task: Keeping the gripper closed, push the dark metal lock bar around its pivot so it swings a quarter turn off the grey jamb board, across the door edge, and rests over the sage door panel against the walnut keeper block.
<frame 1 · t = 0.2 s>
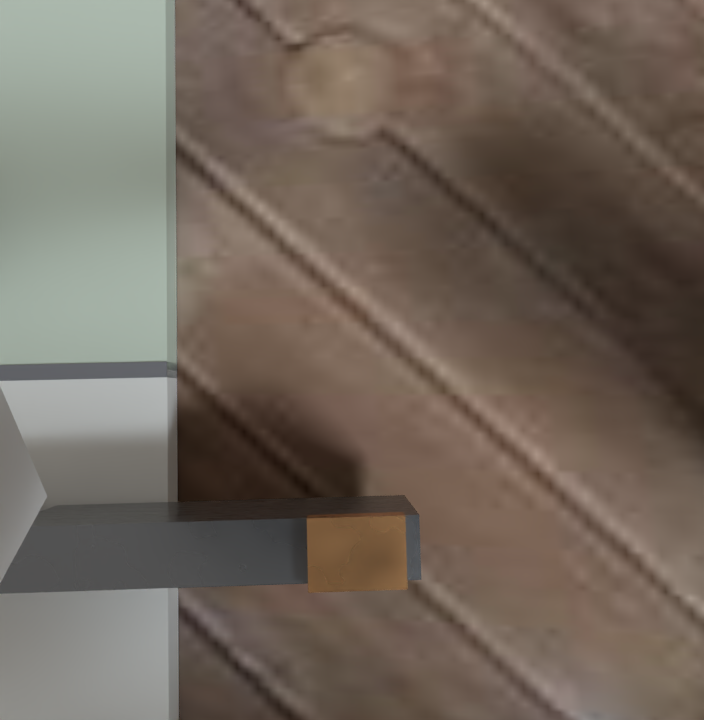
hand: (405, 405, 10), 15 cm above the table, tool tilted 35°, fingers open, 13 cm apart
lock bar: (167, 542, 21), point 4 cm above the table, hinge at -90.0°
door plate: (28, 350, 25), on the table
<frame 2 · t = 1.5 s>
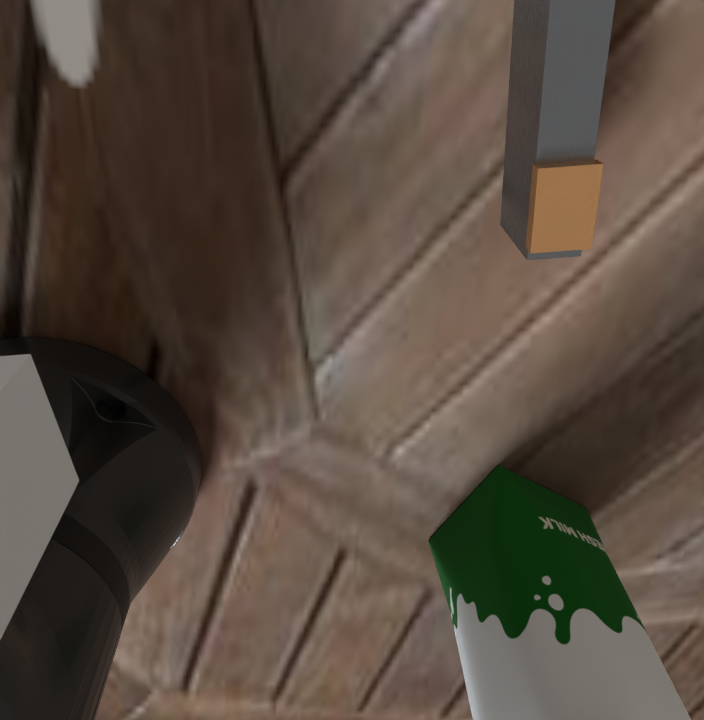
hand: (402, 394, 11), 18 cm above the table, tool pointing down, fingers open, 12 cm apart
milk carton: (504, 521, 38), on the table
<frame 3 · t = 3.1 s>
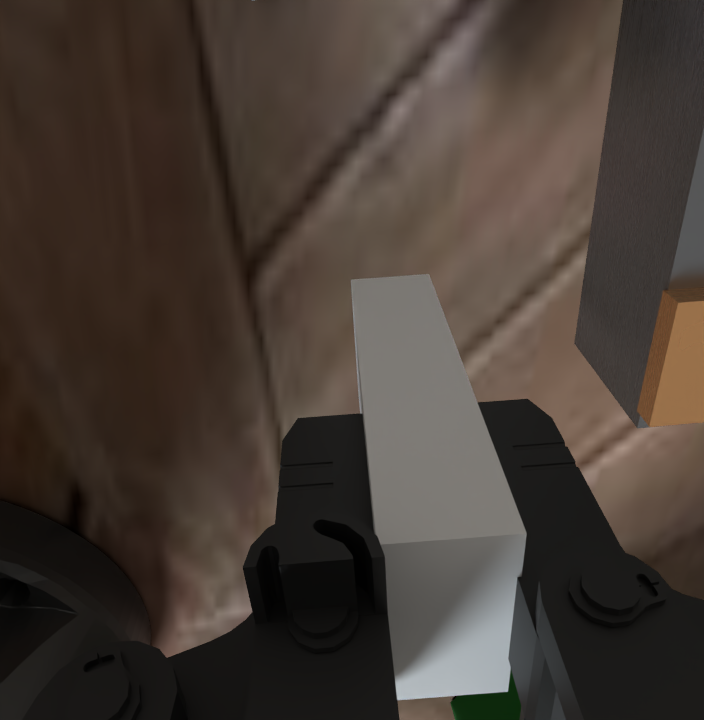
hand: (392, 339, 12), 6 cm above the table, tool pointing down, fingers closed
milk carton: (548, 678, 30), on the table
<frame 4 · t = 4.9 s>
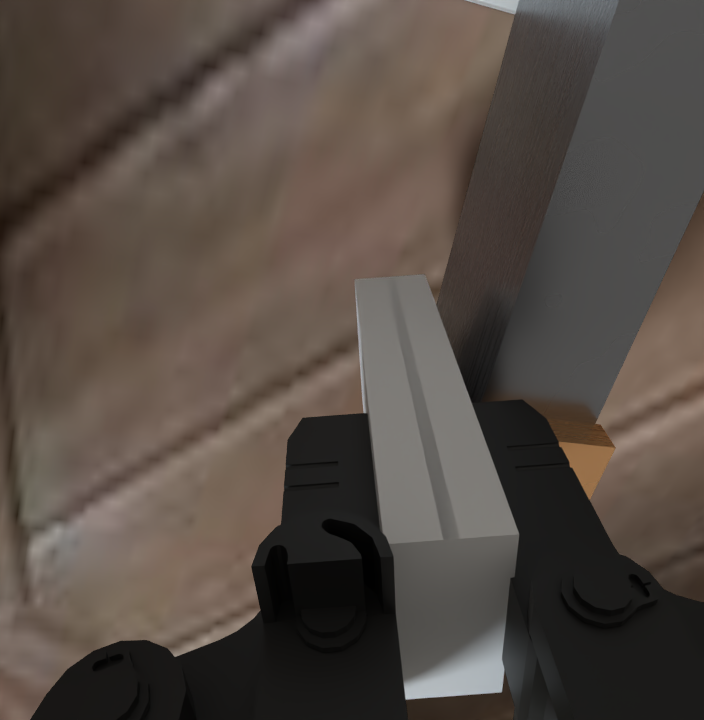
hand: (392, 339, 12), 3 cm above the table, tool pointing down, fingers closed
lock bar: (608, 86, 9), point 4 cm above the table, hinge at -86.6°, touching gripper
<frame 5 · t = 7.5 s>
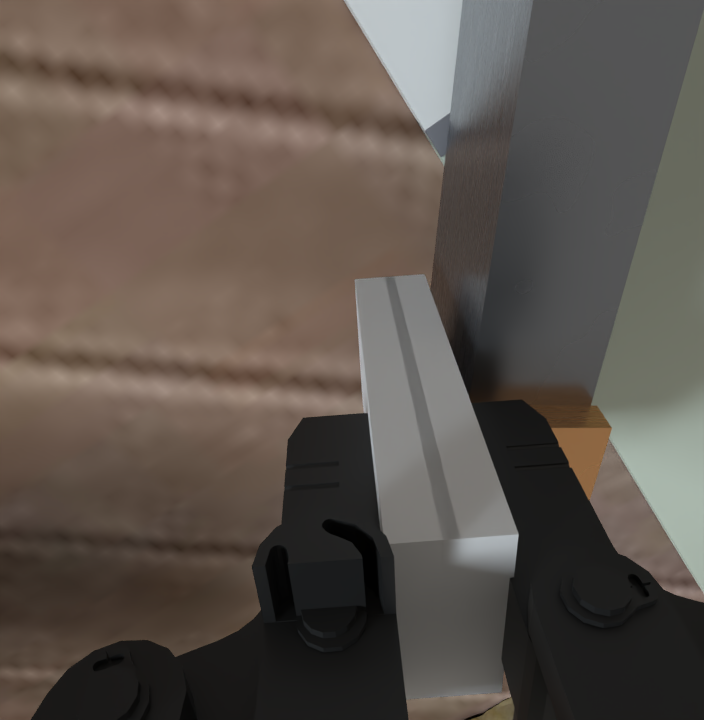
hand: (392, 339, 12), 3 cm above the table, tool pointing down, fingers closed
lock bar: (556, 62, 9), point 4 cm above the table, hinge at -36.9°, touching gripper
rock: (555, 697, 25), on the table
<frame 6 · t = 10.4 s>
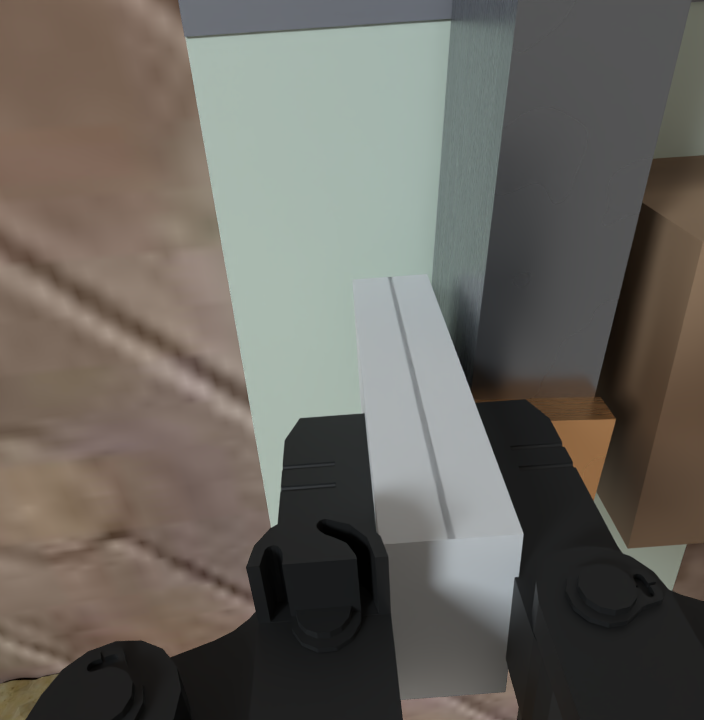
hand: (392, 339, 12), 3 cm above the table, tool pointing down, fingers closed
lock bar: (548, 52, 9), point 4 cm above the table, hinge at -3.4°, touching gripper
door plate: (500, 50, 13), on the table
rock: (122, 687, 23), on the table
keeper block: (604, 269, 15), resting on door plate
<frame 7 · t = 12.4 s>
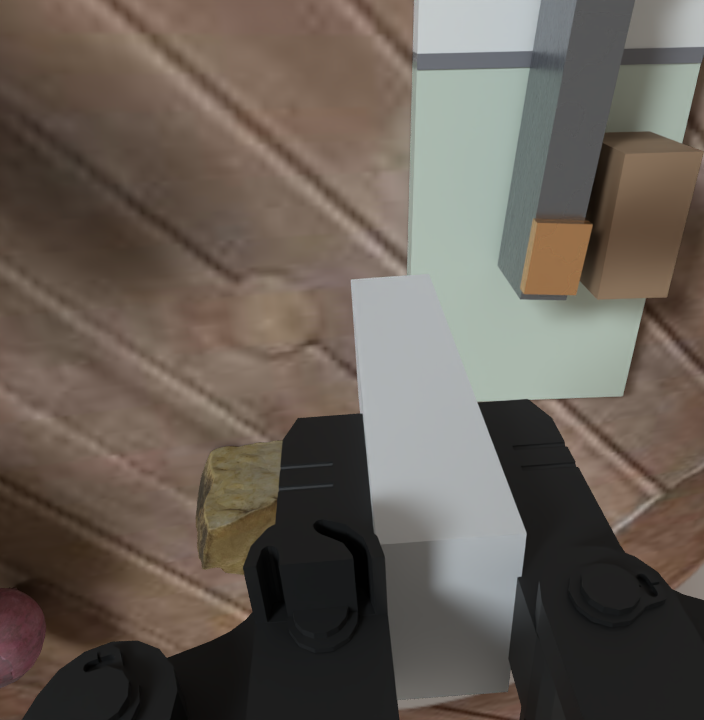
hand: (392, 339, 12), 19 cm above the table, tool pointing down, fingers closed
lock bar: (571, 83, 24), point 4 cm above the table, hinge at -3.4°
door plate: (546, 81, 27), on the table
rock: (287, 460, 38), on the table
vegetable: (20, 586, 42), on the table
keeper block: (591, 191, 30), resting on door plate
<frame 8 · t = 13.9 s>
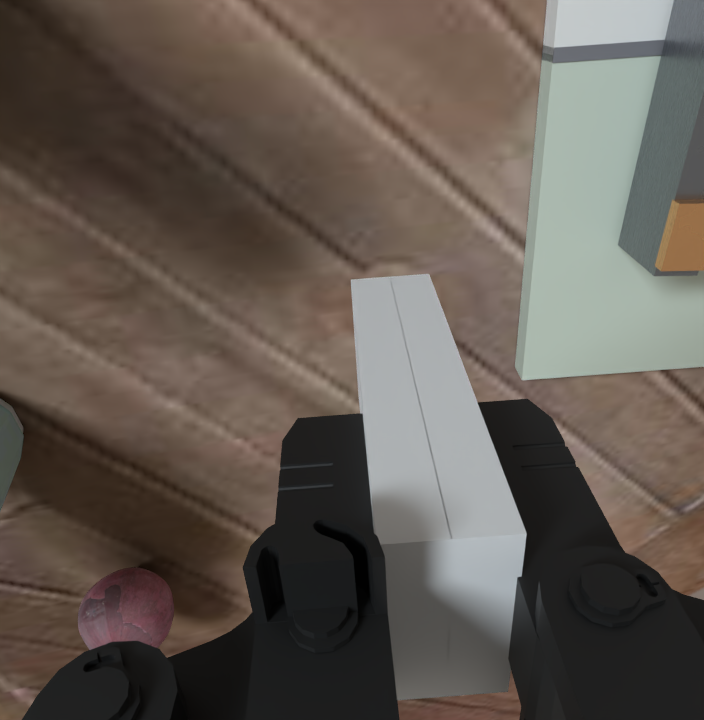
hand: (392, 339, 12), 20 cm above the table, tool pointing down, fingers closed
door plate: (668, 66, 29), on the table
vegetable: (143, 566, 45), on the table
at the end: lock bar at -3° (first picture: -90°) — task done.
